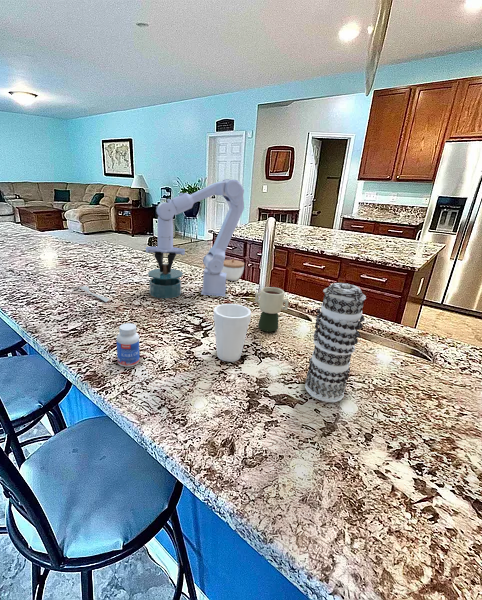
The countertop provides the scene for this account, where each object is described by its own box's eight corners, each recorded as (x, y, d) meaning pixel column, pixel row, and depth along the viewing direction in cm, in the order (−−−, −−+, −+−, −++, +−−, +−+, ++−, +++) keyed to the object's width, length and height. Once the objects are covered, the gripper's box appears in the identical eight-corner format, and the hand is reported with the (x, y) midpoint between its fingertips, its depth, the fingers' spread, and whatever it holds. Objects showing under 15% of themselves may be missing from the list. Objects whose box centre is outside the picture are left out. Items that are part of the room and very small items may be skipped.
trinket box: (241, 283, 145) (243, 262, 142) (218, 280, 147) (219, 260, 143) (244, 276, 155) (245, 257, 151) (222, 274, 157) (223, 255, 153)
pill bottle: (120, 369, 77) (118, 333, 74) (115, 358, 82) (113, 323, 78) (142, 364, 80) (141, 329, 76) (136, 354, 84) (135, 320, 80)
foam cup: (249, 350, 88) (254, 307, 84) (242, 368, 80) (246, 320, 75) (217, 344, 91) (219, 301, 86) (206, 360, 83) (208, 314, 78)
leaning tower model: (341, 409, 67) (368, 298, 58) (298, 393, 72) (316, 287, 63) (349, 387, 75) (374, 285, 66) (309, 374, 79) (327, 276, 70)
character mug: (288, 330, 102) (294, 291, 97) (279, 338, 96) (284, 298, 91) (257, 320, 107) (261, 283, 103) (247, 327, 102) (251, 289, 97)
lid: (184, 272, 130) (185, 261, 128) (179, 282, 118) (179, 270, 116) (152, 270, 131) (152, 259, 129) (144, 279, 118) (143, 267, 117)
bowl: (183, 290, 133) (183, 277, 131) (178, 300, 121) (178, 286, 119) (153, 288, 133) (153, 275, 131) (146, 298, 122) (145, 284, 120)
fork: (105, 309, 116) (105, 302, 115) (72, 289, 127) (72, 283, 126) (112, 306, 119) (112, 300, 117) (79, 288, 129) (78, 281, 128)
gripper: (143, 237, 115) (144, 273, 120) (183, 239, 114) (182, 275, 119) (148, 233, 122) (148, 268, 127) (185, 236, 121) (185, 270, 126)
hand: (165, 271), depth 123 cm, fingers closed on lid, 2 cm apart
